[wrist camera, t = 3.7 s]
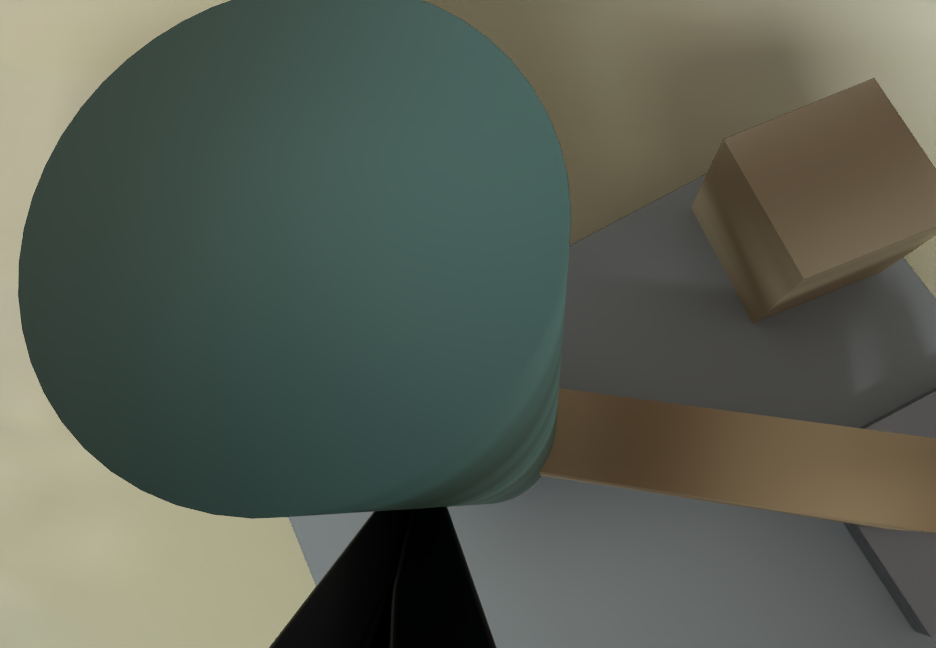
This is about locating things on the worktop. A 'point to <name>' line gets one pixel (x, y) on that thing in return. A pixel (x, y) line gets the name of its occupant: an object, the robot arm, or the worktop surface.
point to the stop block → (817, 200)
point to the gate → (362, 289)
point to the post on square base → (899, 551)
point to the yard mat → (683, 519)
